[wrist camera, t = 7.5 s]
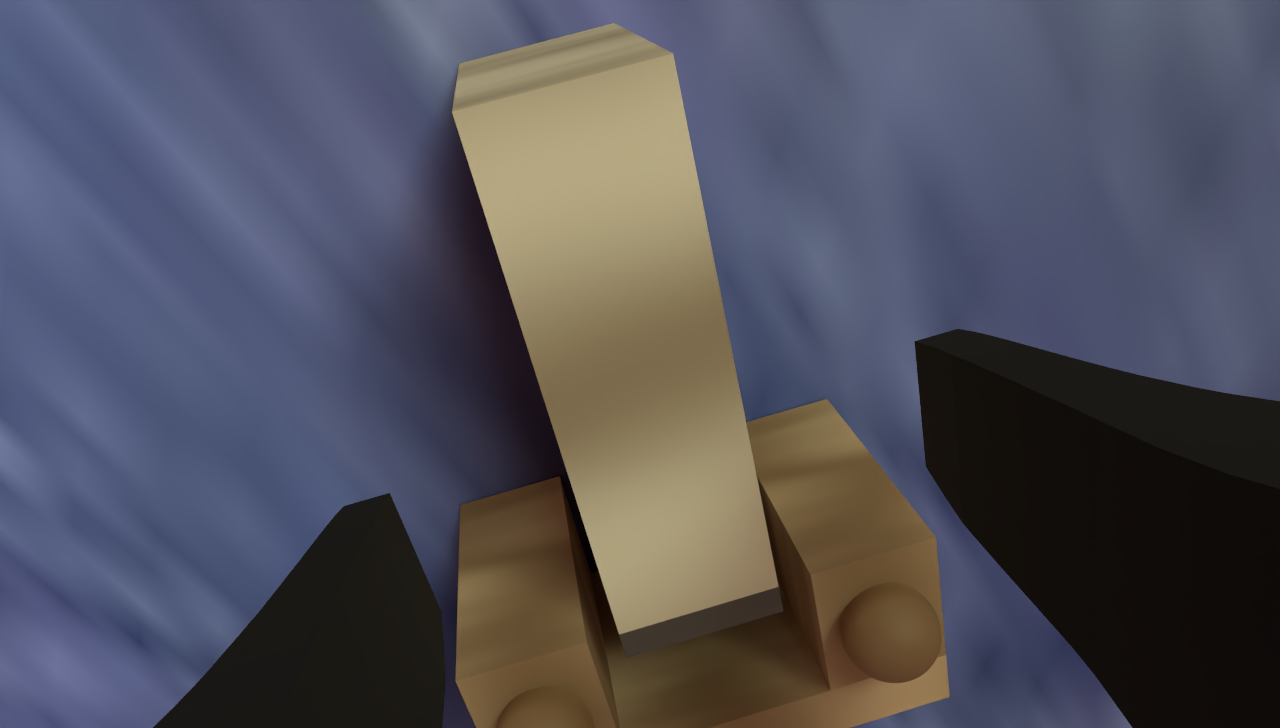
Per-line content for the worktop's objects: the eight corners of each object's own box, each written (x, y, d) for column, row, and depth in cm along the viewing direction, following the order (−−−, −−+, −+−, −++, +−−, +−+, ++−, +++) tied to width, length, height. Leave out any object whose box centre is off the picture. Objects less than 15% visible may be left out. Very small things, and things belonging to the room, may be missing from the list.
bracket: (512, 635, 22) (525, 892, 16) (460, 504, 20) (454, 741, 14) (846, 535, 23) (983, 749, 17) (826, 399, 21) (972, 583, 15)
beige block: (711, 456, 21) (783, 611, 16) (590, 491, 21) (626, 658, 16) (614, 23, 16) (673, 53, 11) (459, 63, 16) (451, 111, 11)
